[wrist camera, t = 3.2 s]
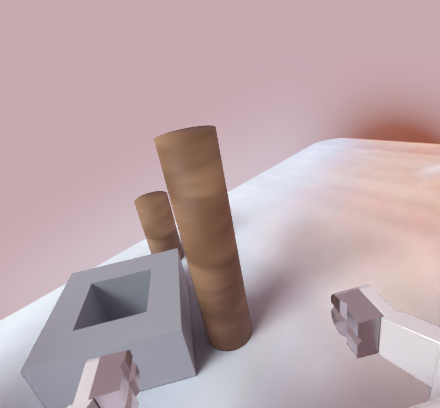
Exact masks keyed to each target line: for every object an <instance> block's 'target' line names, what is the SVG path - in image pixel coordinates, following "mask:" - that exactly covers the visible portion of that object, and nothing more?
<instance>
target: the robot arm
mask: <svg viewBox="0 0 440 408" xmlns="http://www.w3.org/2000/svg"><path fill="white" fill-rule="evenodd" d="M331 302H332V304H333V305H334V307H333V309H332V310H331V312H332V319H333V322H334V325H335V327H336V329H337V330H338V332H339V333H340V334H341V335H343V336H345V337H347V345H348V346H349V348H350V349H351V350H352V352H353V353H354V355H355V356H356V358H361V357H365V356H369V355H373V354H377V353H379V355H381V356H382V357H384V358H386V359H387V360H389V361H390V362H392V363H393V364H395V365H397V366H398V367H400V368H401V369H403V370H405V371H406V372H408V373H409V374H411V375H412V376H414V377H416V378H417V379H419V380H420V381H422V382H424V383H425V384H427V385H428V386H430V387H431V388H432V389H431V394H430V400H429V401H427V402H424V403H421V404H417V405H414V406H411V407H408V408H440V327H439V326H437V325H434V324H432V323H429V322H426V321H424V320H421V319H419V318H416V317H414V316H411V315H409V314H406V313H404V312H399V313H398V312H397V311H396V310H395V309H394V308H393V307H392V306H391V305H390V304H389V303H388V302H387V301H386V300H385V299H384V298H383V297H382V296H381V295H379V294H378V293H377V292H376V291H375V290H374V289H373V288H372V287H371V286H370V285H368V284H367V285H363V286H360V287H356V288H352V289H349V290H345V291H342V292H338V293H335V294H332V296H331ZM132 358H133V355H132V353H131V351H130V350H125V351H121V352H117V353H113V354H109V355H104V356H101V357H97V358H93V359H89V360H88V361H87V362H86V364H85V367H84V370H83V373H82V376H81V380H80V383H79V386H78V389H77V393H76V396H75V399H74V403H73V404H72V405H69V406H68V407H67V408H138V401H137V399H136V396H137V394H138V393H139V391H140V374H139V370H138V367H137V364H135V363H133V362H132Z"/></svg>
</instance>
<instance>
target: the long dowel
mask: <svg viewBox="0 0 440 408" xmlns="http://www.w3.org/2000/svg"><path fill="white" fill-rule="evenodd" d="M154 141H155V144H156V148H157V152H158V156H159V159H160V163H161V167H162V170H163V174H164V178H165V181H166V184H167V189H168V193H169V196H170V199H171V204H172V207H173V211H174V215H175V218H176V222H177V226H178V230H179V233H180V237H181V241H182V244H183V248H184V252H185V255H186V259H187V263H188V267H189V270H190V274H191V278H192V281H193V285H194V289H195V292H196V296H197V300H198V304H199V307H200V311H201V315H202V318H203V322H204V326H205V329H206V333H207V337H208V340H209V342H210V344H211V345H212V346H213V347H214V348H216V349H218V350H222V351H232V350H236V349H238V348H240V347H242V346H243V345H245V344H246V343H247V341H248V340H249V338H250V336H251V332H252V328H251V322H250V317H249V311H248V306H247V300H246V295H245V289H244V283H243V278H242V272H241V267H240V261H239V256H238V250H237V244H236V239H235V233H234V228H233V222H232V217H231V211H230V205H229V200H228V194H227V189H226V183H225V178H224V172H223V167H222V161H221V156H220V150H219V144H218V139H217V133H216V127H215V126H197V127H190V128H185V129H180V130H176V131H172V132H169V133H166V134H163V135H160V136H158V137H156V138H155V139H154Z"/></svg>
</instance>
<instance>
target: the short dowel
mask: <svg viewBox="0 0 440 408" xmlns="http://www.w3.org/2000/svg"><path fill="white" fill-rule="evenodd" d="M135 205H136V209H137V212H138V215H139V218H140V221H141V224H142V227H143V230H144V233H145V236H146V239H147V242H148V245H149V248H150V251H151V254H156V253H160V252H164V251H168V250H172V249H176V248H178V252H179V255H180V259H182V258H183V250H182V247H181V243H180V239H179V236H178V232H177V228H176V225H175V221H174V218H173V214H172V210H171V207H170V203H169V200H168V196H167V193H166V192H163V191H156V192H151V193H147V194H145V195H142V196H140V197H138V198H137V199H136V200H135Z"/></svg>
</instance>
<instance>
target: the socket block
mask: <svg viewBox="0 0 440 408" xmlns="http://www.w3.org/2000/svg"><path fill="white" fill-rule="evenodd" d="M125 350H130V351H131V353H132V355H133V358H132V362H133V363H135V364H137V367H138V370H139V374H140V391H143V390H147V389H150V388H154V387H158V386H161V385H165V384H168V383H172V382H176V381H179V380H183V379H186V378H190V377H194V376H196V369H195V358H194V347H193V336H192V325H191V314H190V303H189V292H188V284H187V280H186V277H185V273H184V269H183V266H182V262H181V259H180V255H179V252H178V248H176V249H172V250H168V251H164V252H160V253H156V254H151V255H147V256H143V257H139V258H135V259H131V260H127V261H122V262H118V263H114V264H110V265H106V266H102V267H97V268H93V269H89V270H85V271H81V272H77V273H73V274H72V275H71V277H70V279H69V280H68V282H67V284H66V286H65V288H64V290H63V292H62V294H61V296H60V297H59V299H58V301H57V303H56V305H55V307H54V309H53V311H52V313H51V315H50V317H49V318H48V320H47V322H46V324H45V326H44V328H43V330H42V332H41V334H40V336H39V337H38V339H37V341H36V343H35V345H34V347H33V349H32V351H31V353H30V355H29V356H28V358H27V360H26V362H25V364H24V366H23V368H22V370H21V374H22V375H23V377H24V378H25V379H26V381H27V382H28V384H29V385H30V387H31V388H32V390H33V391H34V392H35V394H36V395H37V397H38V398H39V400H40V401H41V403H42V404H43V406H44V407H45V408H67V407H68V406H69V405H72V404H73V403H74V399H75V396H76V393H77V389H78V386H79V383H80V380H81V376H82V373H83V370H84V367H85V364H86V362H87V361H88V360H89V359H93V358H97V357H101V356H104V355H109V354H113V353H117V352H121V351H125ZM140 391H139V392H140Z"/></svg>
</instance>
